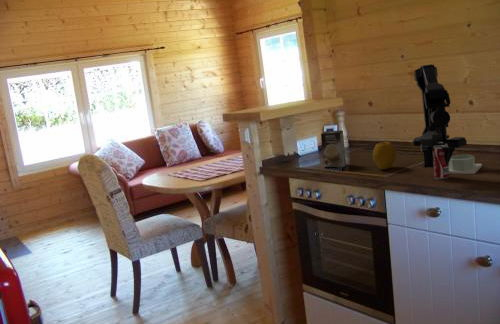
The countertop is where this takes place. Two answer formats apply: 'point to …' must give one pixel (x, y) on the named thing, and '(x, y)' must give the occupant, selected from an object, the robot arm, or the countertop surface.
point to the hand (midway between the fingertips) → (440, 164)
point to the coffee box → (333, 148)
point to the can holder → (463, 165)
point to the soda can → (440, 163)
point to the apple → (384, 155)
